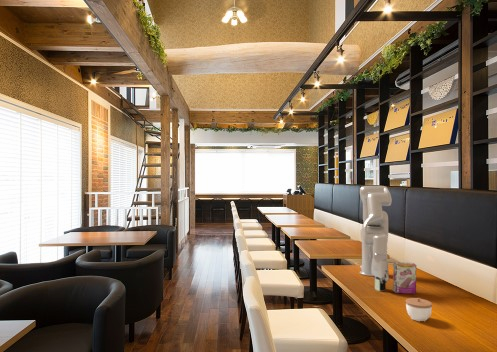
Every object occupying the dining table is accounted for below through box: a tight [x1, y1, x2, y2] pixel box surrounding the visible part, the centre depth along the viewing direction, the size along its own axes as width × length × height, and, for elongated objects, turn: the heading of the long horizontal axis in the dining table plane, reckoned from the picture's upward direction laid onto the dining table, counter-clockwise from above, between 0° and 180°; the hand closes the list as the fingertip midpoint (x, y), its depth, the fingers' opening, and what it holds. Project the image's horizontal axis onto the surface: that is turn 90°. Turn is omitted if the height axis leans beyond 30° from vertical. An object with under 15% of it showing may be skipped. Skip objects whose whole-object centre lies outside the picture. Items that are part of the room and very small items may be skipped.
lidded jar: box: [405, 297, 433, 322], centre depth 157 cm, size 11×11×9 cm
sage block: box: [374, 278, 386, 292], centre depth 200 cm, size 4×4×6 cm
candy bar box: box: [392, 261, 417, 295], centre depth 195 cm, size 11×5×16 cm, turn 84°
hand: (380, 288), depth 200 cm, fingers closed on sage block, 3 cm apart
